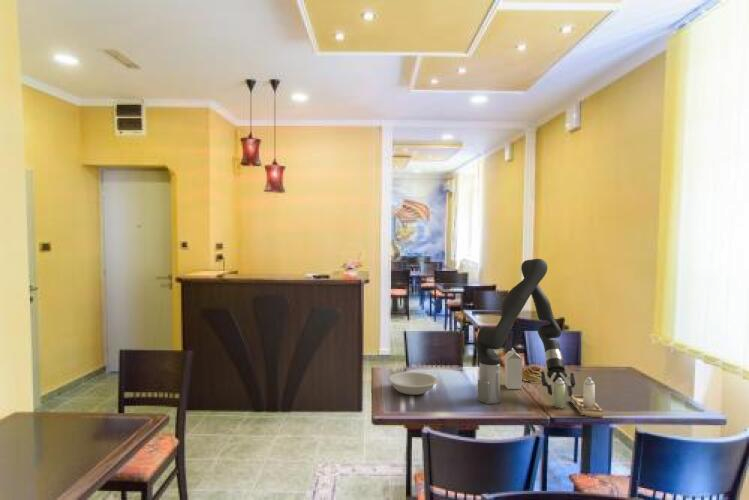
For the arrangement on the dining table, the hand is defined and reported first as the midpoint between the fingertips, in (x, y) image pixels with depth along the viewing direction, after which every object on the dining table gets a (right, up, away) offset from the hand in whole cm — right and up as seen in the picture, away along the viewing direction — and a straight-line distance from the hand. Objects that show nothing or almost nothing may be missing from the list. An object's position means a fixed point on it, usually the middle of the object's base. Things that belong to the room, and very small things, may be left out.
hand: (560, 394), depth 195 cm
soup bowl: (-63, -5, +20) cm, 66 cm away
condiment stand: (+11, -6, -1) cm, 12 cm away
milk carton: (-12, -6, +29) cm, 31 cm away
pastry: (+3, -6, +43) cm, 43 cm away
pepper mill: (0, -6, +2) cm, 6 cm away
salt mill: (+10, -4, -5) cm, 12 cm away
